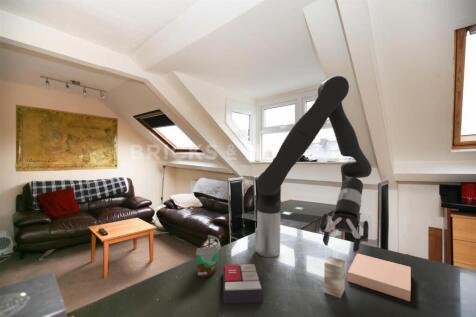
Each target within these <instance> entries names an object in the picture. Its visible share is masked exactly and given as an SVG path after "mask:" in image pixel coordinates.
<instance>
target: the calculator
mask: <svg viewBox="0 0 476 317" xmlns="http://www.w3.org/2000/svg"><path fill="white" fill-rule="evenodd" d="M222 270H223V271H222V272H223V278H222V280H223V284H222V285H223V290H222V291H223V293H222V294H223V297H222V298H223V302H224V303H232V304H251V303H252V304H254V303H255V304H256V303H263V302H264V289H263V285H262V281H261V278H260V275H259V273H258V269H257V265H255V264H254V263H250V264H247V263H246V264H240V265H239V264H225V265H224V266H223V269H222ZM224 303H223V304H224Z"/></svg>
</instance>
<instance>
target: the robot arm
mask: <svg viewBox="0 0 476 317" xmlns="http://www.w3.org/2000/svg"><path fill="white" fill-rule="evenodd" d="M349 89H350V84H349V81H348V79H347V78H346V77H344V76H342V75H334V76H331V77H329V78H327V79H326V80H324V81H323V82H321V84H320V85H319V87H318V89H317V97H316V99H315V100H314V102H313V103H312V105H311V107H309V109H308V110H307V111H306V112H305V113H304V114H303V115H302V116H301V117H300V118H299V119H298V120H297V121H296V123H295V124H294V125H293V126H292V127H291V129H290V131H289V132H288V134H287V135H286V136H285V138H284V140H283V142H282V144H281V146H280V147H279V149H278V151H277V154H276V155H275V157H274V159H273V160H272V162H270V164H269V165H268V166H267V168H266V169H265V170H264V171H263V172H262V173H260V174H259V176H258V178H257V181H256V186H257V192H258V194H257V195H258V196H257V204H256V205H257V206H256V207H257V211H256V212H257V216H256V217H257V219H256V220H257V221H256V222H257V225H256V226H257V227H256V228H255V229H254V230H255V232H254V233H255V234H254V249H255V250H254V252H255V253H257V254H258V255H259V256H261V257H265V258H275V257H278V256H280V254H281V208H282V207H281V206H282V205H281V204H282V202H281V201H282V199H281V196H282V193H281V192H282V189H281V188H282V185H283V183H284V181H285V180H286V177H287V176H288V174H289V173H290V171H291V169H292V168H293V167H294V166H295V165H296V164H297V163H298V162H299V160H300V159H301V158H302V157H303V155H304V154H305V153H306V151H307V150H308V149H309V147H310V146H311V145H312V143H313V142H314V141H315V139H316V137H317V136H318V134H319V133H320V132H321V130H322V128H323V127H324V125H325V124H326V122H327V121H328V120H329V122H330V125H331V127H332V130H333V132H334V133H333V134H334V136H335V139H336V143H337V146H338V150H339V153H340V155H341V156H343V157H347V158H349V157H350V158H353V159H354V160H353V159H352V160H346V161H344V162H343V163H342V164H341V166H340V174H341V187H340V191H339V194H338V196H337V199H336V200H337V201H336V205H335V209H334V214H333V215H332V216H330V215H328V214H327V213H324V214H323V216H322V218H321V222H320V225H319V229H320V232H322V233H324V234H323V236H322V242H323V244H324V246H328V245H329V242H330V237H331V236H330V235H332V234H333V233H335V232H337V231H339V232H345V233H348V234H349V233H351V234H352V236H353V237H354V243H353V248H352V250H353V253H354V254H357V252H359V251H360V248H361V243H362V242H365V243H368V241H369V233H370V232H369V226H370V225H369V222H368V221H367V220H364V221H359V218H360V212H361V211H360V210H361V208H362V195H363V190H364V183H363V181H362V180H361V179H362V178H363V179H364V178H368V177H370V175H371V174H372V164H371V163H370V161H369V160H368V158H367V157H366V155H365V154H364V152H363V151H362V149H361V147H360V144H359V140H358V137H357V134H356V131H355V129H354V127H353V126H352V123H351V122H350V120H349V118H348V116H347V114H346V113H345V111H344V110H345V109H344V107H343V103H342V102H343V101H344V100H345V98H347V96H348V93H349V91H350V90H349ZM360 178H361V179H360ZM331 221H332V222H331ZM330 222H331V223H330ZM328 223H330V224H329V225H328ZM327 225H328V226H327ZM359 226H360V227H361V230H362V233H363V234H362V235H360V234H359V232H358V230H357V229H358V227H359Z"/></svg>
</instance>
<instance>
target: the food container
mask: <svg viewBox="0 0 476 317" xmlns="http://www.w3.org/2000/svg"><path fill="white" fill-rule="evenodd" d="M220 249H221V243H220V240H219V238H218V237H216V236H214V235H209V234H208V235H207V238H206V240H205V241H204V242H202V243H201V246H200V247H197V248H196V252H195V256H196V264H197V265H196V266H197V277H198V278H205V277H210V276H212V275H214V274H215V273H217V271H218V261H219V260H218V259H219V251H220Z"/></svg>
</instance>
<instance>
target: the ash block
mask: <svg viewBox="0 0 476 317" xmlns="http://www.w3.org/2000/svg"><path fill="white" fill-rule="evenodd" d="M323 273H324V274H323V275H324V276H323V278H324V280H323V293H326V294H328V295H331V296H333V297H336V298H339V299H341V298H342V296H343V294H344V292H345V284H346V283H345V281H346V280H345V279H346V278H345V277H346V260H343V259H339V258H336V257H332V256H328V257H327V259H326V260H325V261H324V270H323Z"/></svg>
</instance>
